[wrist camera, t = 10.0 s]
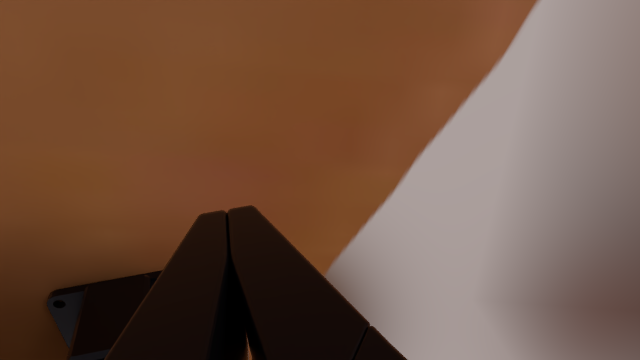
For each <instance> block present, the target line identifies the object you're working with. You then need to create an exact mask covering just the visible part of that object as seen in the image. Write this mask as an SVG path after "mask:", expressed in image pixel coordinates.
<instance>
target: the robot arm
mask: <svg viewBox="0 0 640 360" xmlns="http://www.w3.org/2000/svg"><path fill="white" fill-rule="evenodd" d="M57 300H62V301H64V302H59V301H57ZM47 306H48V308H49V310H50V312H51V314H52V316H53V318H54V320H55V322H56V324H57V326H58V328H59V330H60V332H61V334H62V336H63V338H64V340H65V342H66V344H67V346H68V348H69V352H68V356H67V360H249V359H248V343H249V347H250V351H251V355H252V360H407V359H406V358H405V357H404V356H403V355H402V354H401V353H400V352H399V351H398V350H397V349H396V348H395V347H393V346H392V345H391V344H390V343H389V342H388V341H387V340H386V339H385V338H384V337H383V336H382V335H381V333H379V331H377V330H376V328H375V327H373V326H370V323H369V322H368V321H367V320H366V319H365V318H364V317H363V316H362V315H361V314H360V313H359V312H358V311H357V310H356V309H355V308H354V307H353V306H352V305H351V304H350V303H349V302H348V301H347V300H346V298H344V296H343V295H341V293H340V292H339V291H338V290H337V289H336V288H335V287H333V285H331V283H329V281H328V280H327V279H326V278H325V277H324V276H323V275H322V274H321V273H320V272H319V271H318V270H317V269H316V268H315V267H314V266H313V265H312V264H311V263H310V262H309V261H308V260H307V259H306V258H305V257H304V256H303V255H302V254H301V253H300V252H299V251H298V250H297V249H296V248H295V247H294V246H293V245H292V244H291V243H290V242H289V241H288V240H287V239H286V238H285V237H284V236H283V235H282V234H281V233H280V232H279V231H278V230H277V229H276V228H275V227H274V226H273V225H272V224H271V223H270V222H269V221H268V220H267V219H266V218H265V217H264V216H263V215H262V214H261V213H260V212H259V211H258V210H257V209H256V208H255V207H254V206H252V205H249V206H244V207H238V208H232V209H230V210H229V211H228V213H226V212H225V211H223V210H221V211H215V212H209V213H203V214H201V215H199V216H198V218H197V219H196V221H195V222H194V224H193V225H192V227H191V228H190V230H189V231H188V233H187V234H186V236H185V237H184V239H183V240H182V242H181V243H180V245H179V246H178V248H177V250H176V251H175V253H174V254H173V256H172V257H171V259H170V260H169V262H168V263H167V265H166V266H165V268H164V269H163V271H158V272H152V273H147V274H141V275H136V276H130V277H125V278H119V279H114V280H108V281H103V282H97V283H92V284H86V285H81V286H75V287H70V288H64V289H59V290H55V291H53V292H52V293H50V295H49V298H48V301H47ZM247 338H248V341H247Z"/></svg>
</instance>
